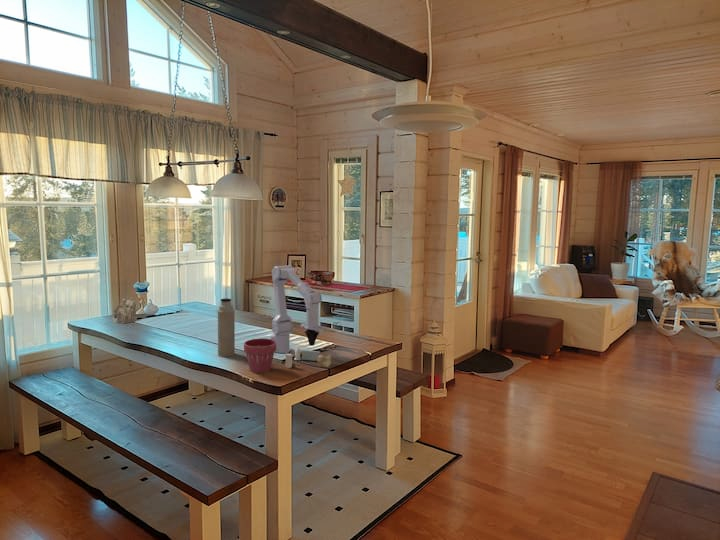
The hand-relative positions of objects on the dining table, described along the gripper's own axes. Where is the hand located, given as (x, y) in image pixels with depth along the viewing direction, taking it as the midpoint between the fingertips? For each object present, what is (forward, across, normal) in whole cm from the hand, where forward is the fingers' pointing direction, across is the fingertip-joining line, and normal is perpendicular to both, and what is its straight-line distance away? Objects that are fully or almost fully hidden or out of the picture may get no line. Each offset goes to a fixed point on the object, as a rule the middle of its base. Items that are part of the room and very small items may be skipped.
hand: (311, 345), depth 237 cm
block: (+8, +8, +1) cm, 11 cm away
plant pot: (+8, -6, -26) cm, 28 cm away
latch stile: (+8, -2, -12) cm, 14 cm away
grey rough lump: (+9, -142, -32) cm, 146 cm away
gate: (+8, -1, +1) cm, 8 cm away
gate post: (+8, -7, -3) cm, 11 cm away
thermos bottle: (+8, -36, -24) cm, 44 cm away
